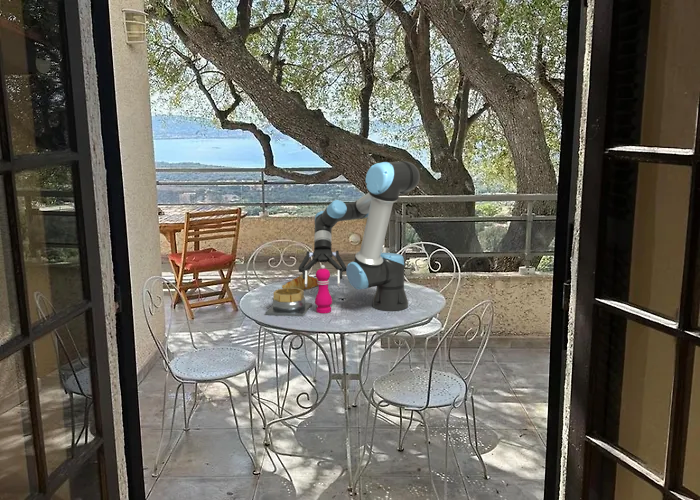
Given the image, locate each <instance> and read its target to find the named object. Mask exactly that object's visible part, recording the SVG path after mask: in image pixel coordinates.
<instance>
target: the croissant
mask: <svg viewBox="0 0 700 500" xmlns="http://www.w3.org/2000/svg"><path fill="white" fill-rule="evenodd" d="M302 276H303V273H302V274H300V275H299V276H297V277H295V278H293V279H291V281H287V282H285V284H282V286H281V287H282V288H281V289H283V288H299V289H301V290H304V291H305V290H309V289H313V288H315V287H317V286H318V284H317V280H318V279H317V278H316V277H313V276H310V275H308V274H307V287H305V279H303V277H302Z"/></svg>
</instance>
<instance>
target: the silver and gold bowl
mask: <svg viewBox="0 0 700 500" xmlns="http://www.w3.org/2000/svg"><path fill="white" fill-rule="evenodd" d="M304 292H305V289H304V290H301V289H299V288H283V289H282V288H280V289H279V288H278V289H276V290H274V291H273V298H272V305H271V306H270V307H269V308H268V309H267V310H266V311H265V316H277V317H278V316H281V317H282V316H283V317H304V316H305V315H306V314H307V312H308V311H309V310H310V309H311V308H312V306H313V303H312V302H306V297H305V293H304ZM309 308H310V309H309Z"/></svg>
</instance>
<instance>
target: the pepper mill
mask: <svg viewBox="0 0 700 500" xmlns="http://www.w3.org/2000/svg"><path fill="white" fill-rule="evenodd" d="M330 277H331V273H330V270H329V269H328V268H326V266H325V264H322V265H320V268H319V269H317V270H316V272H315V278H317V279H318V280H317V284H318V290H317V294H316V296H315V299H314V304H315V305H316V308H315V309H316V313H318V314H329V313H330V314H331V312H332V306H331V305H332V304H333V298H332V295H331V293H330V291H329V284H330V279H329V278H330Z"/></svg>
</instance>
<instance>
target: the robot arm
mask: <svg viewBox="0 0 700 500" xmlns="http://www.w3.org/2000/svg"><path fill="white" fill-rule="evenodd" d="M420 175H421V174H420V171H419V168H418V167H417V166H416V165H415V164H414V163H412V162H410V161H406V160H405V161H389V162H388V161H383V162H378V163H374V164H373V165H371V166H370V167H369V169H368V170H367V172H366V175H365V184H366V185H365V186H366V189H367V190H368V192H367V193H366V194H364V195H363V196H361V197H359V198H358V199H357V200H355V201H353V202H346V203H345V202H344V201H342V200H340V199H335V200H333V201H332V202H330V204H328V206H327V207H326V208H325V210H320V211H319V212H316V214H315V216H314V236H313V237H314V238H313V239H314V240H313V242H314V243H313V245H314V246H313V247H314V248H313V252H310V250H307V251H306V255H305V257H304V259H303V260H302V262H301V263H300V265H299V266H298V273H302V274H303V276H302V277H303V279H305V287H307V275H308V271H309V270H310V269H311V268H312V267H313V266H314V265H317V263H329V264H330V265H332V266H333V267H334V269H335V270H337V287H340V286H341V285H340V283H341V282H340V280H342V279H343V272H345V274H346V279H347V280H348V282H349V284H350V285H351V287H352V288H354V289H355V290H366V289H369V288H374V287H376V291H375V294H374V297H373V299H372V307H373V308H374V309H375V310H379V311H387V312H388V311H390V312H395V311H401V310H402V311H403V310H406V309H407V308H408V307H409V299H408V297H407V294H406V291H405V259H404V256H403V255H402V254H400V253H395V252H394V253H393V252H382V251H383V248H384V244H385V239H386V235H387V231H388V227H389V222H390V218H391V214H392V209H393V205H394V203H396V202H397V201H398V200H399V197H400V195H405V194H407V193H409V192H412V191H413V190H414V189H415V188H416V187H417V186H418V185H419V183H420V179H421V176H420ZM365 218H366V223H365V228H364V232H363V236H362V237H363V238H362V242H361V246H360V249H359V251H358V252H356V253H355V256H354V260H353V261H350V262H349V263H348V264H347V266H346V264H345V263H344V260H343V259H342V257H341V256H340V253H339V250H336V251H334V252H333V251H332V247H333V246H332V241H333V240H332V239H333V238H332V236H333V235H332V232H333V231H332V229H333V228H334V226H335V225H336V224H337V223H339V222H343V221H352V220H361V219H365ZM333 256H334V259H336V260H337V262H338V263H337V262H336V261H335V260H334V259H333ZM312 257H313V258H312ZM311 258H312V259H311ZM310 259H311V260H310ZM309 260H310V261H309Z"/></svg>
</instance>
